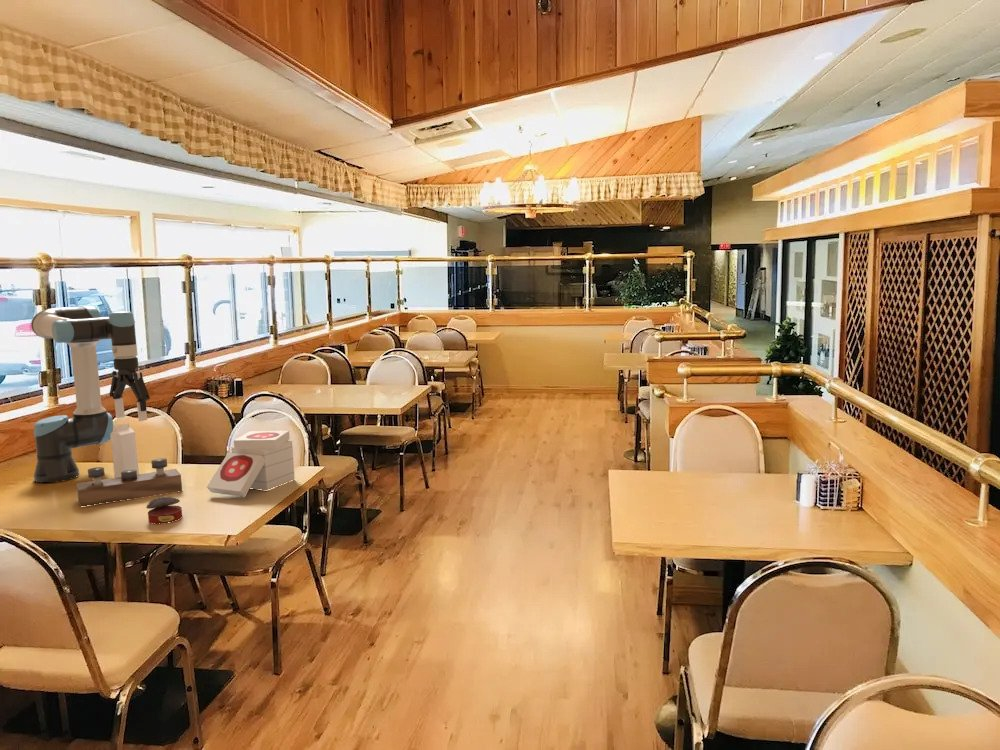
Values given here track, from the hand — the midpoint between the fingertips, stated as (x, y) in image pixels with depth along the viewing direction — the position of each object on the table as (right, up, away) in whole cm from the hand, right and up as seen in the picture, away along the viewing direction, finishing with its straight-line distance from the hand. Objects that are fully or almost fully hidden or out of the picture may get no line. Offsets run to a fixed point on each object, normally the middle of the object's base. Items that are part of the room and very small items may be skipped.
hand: (131, 419), depth 270 cm
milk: (-12, -25, +22) cm, 36 cm away
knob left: (-11, -24, -1) cm, 26 cm away
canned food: (+21, -31, -22) cm, 43 cm away
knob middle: (-2, -25, +5) cm, 26 cm away
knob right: (+6, -22, +9) cm, 24 cm away
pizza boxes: (+39, -25, +10) cm, 48 cm away
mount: (-3, -27, +5) cm, 28 cm away
